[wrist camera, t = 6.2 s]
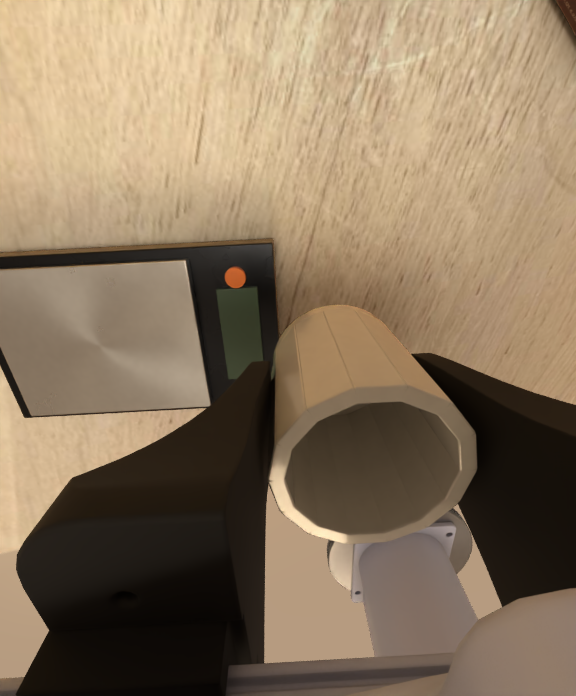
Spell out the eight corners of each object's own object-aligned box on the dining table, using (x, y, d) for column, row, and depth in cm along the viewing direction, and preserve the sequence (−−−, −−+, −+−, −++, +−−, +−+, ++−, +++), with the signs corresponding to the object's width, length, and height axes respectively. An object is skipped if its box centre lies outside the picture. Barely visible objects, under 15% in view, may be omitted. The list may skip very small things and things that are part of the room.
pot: (390, 411, 13) (459, 539, 8) (275, 416, 13) (273, 548, 8) (402, 300, 11) (501, 380, 6) (267, 307, 11) (259, 392, 6)
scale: (282, 386, 21) (283, 410, 18) (46, 399, 21) (16, 424, 18) (273, 238, 17) (272, 244, 15) (-15, 253, 17) (-63, 261, 15)
